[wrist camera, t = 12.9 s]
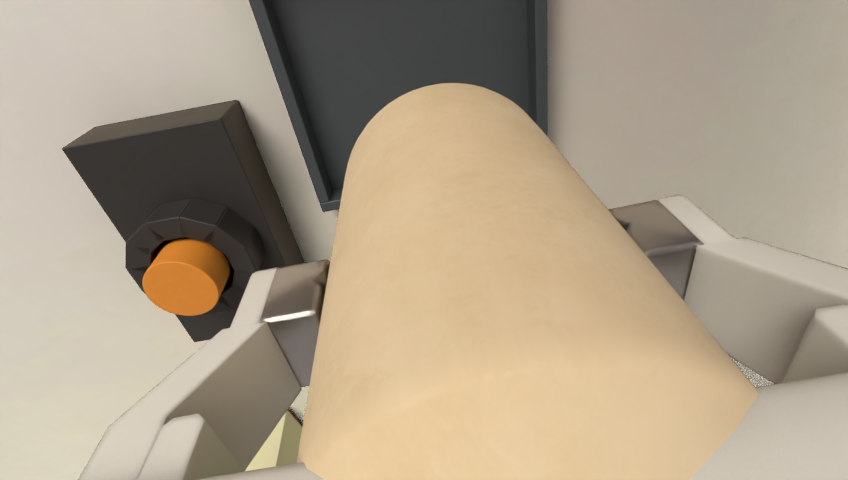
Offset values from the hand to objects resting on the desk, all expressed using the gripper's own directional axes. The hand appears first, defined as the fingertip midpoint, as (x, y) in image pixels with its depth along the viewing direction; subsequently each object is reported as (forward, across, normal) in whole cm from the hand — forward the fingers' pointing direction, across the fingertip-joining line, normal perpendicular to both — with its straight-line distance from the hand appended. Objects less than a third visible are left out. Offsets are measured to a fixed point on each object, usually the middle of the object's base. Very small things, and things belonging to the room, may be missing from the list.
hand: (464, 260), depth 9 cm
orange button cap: (+12, +14, +7) cm, 20 cm away
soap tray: (+17, 0, 0) cm, 17 cm away
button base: (+17, +14, +7) cm, 23 cm away
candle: (+4, 0, 0) cm, 4 cm away
